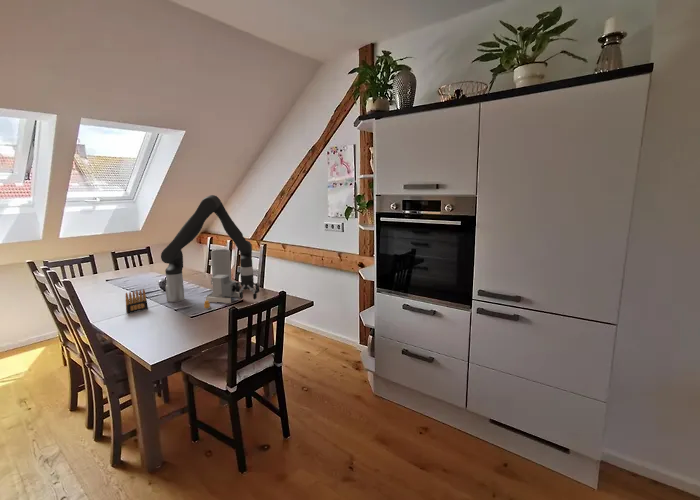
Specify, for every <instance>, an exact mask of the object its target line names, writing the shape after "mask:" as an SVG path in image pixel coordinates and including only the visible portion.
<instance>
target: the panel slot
mask: <svg viewBox="0 0 700 500" xmlns="http://www.w3.org/2000/svg"><path fill="white" fill-rule="evenodd" d="M212 294H213V291H212V292H210V293H208V294H207V295H206V296H205V301H207V300H208V301H209V303H217V302H224V303H223V304H232V298H238V299H239V298H240V295H239V292H237V293H235V294H234V295H232V296H230V298H221V297H212Z"/></svg>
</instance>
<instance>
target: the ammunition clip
mask: <svg viewBox="0 0 700 500" xmlns="http://www.w3.org/2000/svg"><path fill="white" fill-rule="evenodd" d="M125 308H126V309H125V312H126V314H129V315H130V314H132V313H137V312H140V311H141V312H142V311H144V310H148V309H149V305H148V300H147V295H146V290H145V289H144V288H143V290H141V289H139V292H138V290H136V291H134V290H133V291H132V292H131V291H129V293H128V292H126V293H125Z"/></svg>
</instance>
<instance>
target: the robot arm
mask: <svg viewBox="0 0 700 500" xmlns="http://www.w3.org/2000/svg"><path fill="white" fill-rule="evenodd" d="M213 213H214V214H215V215H216V216H217V218H218V219H219V221H220V223H221V225H222V228H223V229H224V231H225V233H226V234H227V235H228V236H229V238H230V239H231V240H232V241H233V244H234V245H235V247H236V249H238V251H240V259H239V265H240V268H239V269H240V271H239V273H240V275H239V276H240V281H236V292H238V293H239V298H240V299H243V298H244V290H245V291H246V290H248V291H250V292H252V297H253V300H254V301H255V300H256V299H257V296H258V295H257V294H258V293H259V292H260V285H259V284H260V282H255V281H254V269H253V268H254V267H253V258H252V255H253V252H252V251H253V248H252V247H253V245H252V243H251V241H249V240H247V239H246V238H245V236H243V235H244V234H243V233H242V231H241V230H240V229H239V227H238V226H237V224H235V222H234V220H233V219H232V218H231V216H230V215H229V212H228V211H227V210H226V208H225V206H224V204H223V202H222V201H221V200H220V198H219V197H218V196H217V195H213V194H210V195H208V196H206V197H204V198H203V199H202V200H201V202H200V203H199V204H198V205H197V208H196V209H195V212H194V213H192V215H191V216H190V217H189V218H188V219H187V221H186V222H185V223H184V224H183V226H182V227H181V228H180V229H179V231H178V232H177V233H176V235H175V237H173V240H171V241H170V242H169V244H168V245H167V246H166V247H165V248H164V249H163V250H162V251H161V254H160V260H161V261H162V263H164V264H168V265H167V267H166V268H165V271H164V272H165V279H166V285H165V288H164V289H165V296H166V301H167V302H169V303H177V302H182V301H184V300H185V288H184V287H185V286H184V277H183V268H184V255H183V250H182V249H184V248H185V247H186V246H187V245H189V244H190V243H192V241H194V240H195V238H196V237H197V236H198V235H199V234H200V233H201V230H202V229H203V225H204V224H205V222H206V220H208V218H209V217H210V216H211V215H212V214H213ZM240 286H241V288H240Z"/></svg>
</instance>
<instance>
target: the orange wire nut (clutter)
mask: <svg viewBox="0 0 700 500" xmlns="http://www.w3.org/2000/svg"><path fill="white" fill-rule="evenodd" d="M203 307H204V309H210V308H211V302H209V301H208V300H207V301H206V300H204V303H203ZM209 307H210V308H209Z"/></svg>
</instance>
